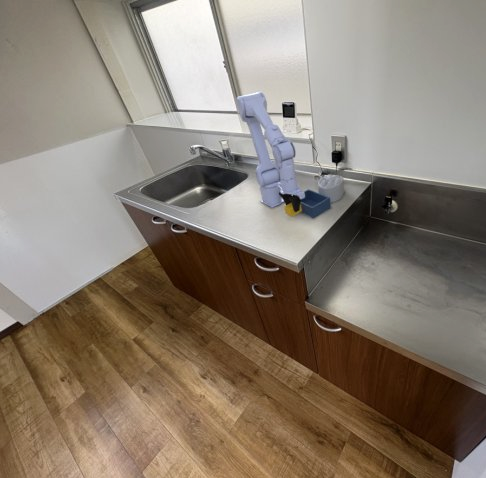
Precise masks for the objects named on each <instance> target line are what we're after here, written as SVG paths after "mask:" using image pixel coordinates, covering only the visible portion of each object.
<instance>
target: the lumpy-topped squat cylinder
mask: <svg viewBox="0 0 486 478" xmlns="http://www.w3.org/2000/svg"><path fill="white" fill-rule="evenodd" d="M317 190H318V192H317V193H319V194H322V195H324V196H327V197H329V198H330V204H331V203H335V202H337V201H339V200H340V199H342V197H343V196H344V193H345V183H344V177H343V176H341V175H338V174H326V175H323V176H321V177H320V178H319V179H318V182H317Z"/></svg>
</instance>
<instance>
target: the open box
mask: <svg viewBox="0 0 486 478" xmlns="http://www.w3.org/2000/svg"><path fill="white" fill-rule="evenodd" d="M303 192H304V193H305V198H303V199H302V200H301V203H300V204H301V208H302V211H301V212H300V213H302V214H304V215H306V216H308V217H309V218H311V219H316V218H318V216H320V215H322V214H323V213H325V212H327V211H328V210H330V209H332V208H331V207H332V206H331V203H330V198H329V197H327V196H324V195H322V194H319V192H316V191H314V190H313V189H310V188H308V189H306V190H304V191H303Z"/></svg>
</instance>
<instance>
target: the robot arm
mask: <svg viewBox="0 0 486 478" xmlns="http://www.w3.org/2000/svg"><path fill="white" fill-rule="evenodd" d="M267 101H268V100H267V98H266V96H265V94H264V93H263V91H258V92H255V93H251V94H246V95H245V94H244V95H239V96H237V97H236V108H237V111H238V113H239V116H240V119H241V122H244V123H246V125H247V127H248V130H249V134H250V136H251V140H252V143H253V146H254V150H255V153H256V157H257V160H258V163H259V164H258V165H257V167H256V168H255V169H254V172H255V178H256V181H257V183H258V185H259V191H260V195H261V200H260V201H261V203H262V204H265V205H266V206H268V207H270V208H272V209H273V208H275V207H277V206H279V205H281V204H283V203H284V204H285V206H286V205H288V204H290V203H292V206H293V210H294V212H297V211H299V209H300V203H301V200H302V199H303V198H305V193H304V191H303V190H302V189H301V188H300V187H299V186H298V181H297V174H296V168H295V160H294V158H296V154H297V153H296V147H295V145H294V143H293V141H292V140H291V139H289V138H286V136H285V135H284V133H283V132H282V130H281V128H280V127H279V125H277V124H274V122H273V120H272V119H271V116H270V114H269V112H268V102H267ZM262 128H263V129H262ZM263 130H264V132H263ZM265 139H266V140H265ZM266 141H267V142H268V144H269V146H270V147H271V151H272V152H271V153H272V156H273V159H274V161H275V162H273V161H271V157H270V154H269V150H268V146H267V144H266Z"/></svg>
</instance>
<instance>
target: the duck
mask: <svg viewBox="0 0 486 478" xmlns="http://www.w3.org/2000/svg"><path fill="white" fill-rule="evenodd" d="M284 211H285V214H286V215H288V216H290V217H294V216H296V215H297V214H299V213H302V212H301V211H302V208H301V204H300V209H299V211H297V212H294V210H293V206H292V203H290V204H288V205H286V204H285V205H284Z"/></svg>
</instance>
